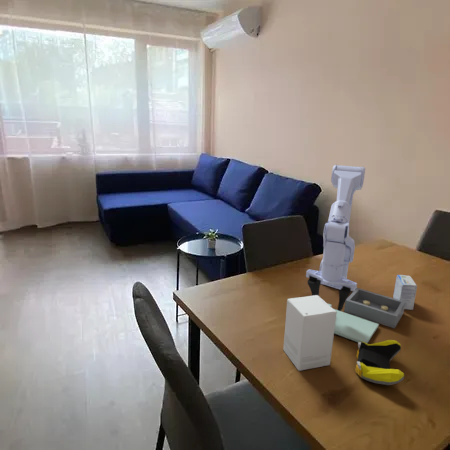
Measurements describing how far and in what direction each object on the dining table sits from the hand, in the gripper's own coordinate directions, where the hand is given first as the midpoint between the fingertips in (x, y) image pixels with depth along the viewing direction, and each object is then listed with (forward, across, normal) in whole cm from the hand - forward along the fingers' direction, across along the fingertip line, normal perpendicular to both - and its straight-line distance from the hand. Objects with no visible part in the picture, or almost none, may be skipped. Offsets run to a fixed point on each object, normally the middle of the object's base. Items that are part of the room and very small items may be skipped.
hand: (327, 305), depth 109 cm
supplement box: (+5, +3, -20) cm, 21 cm away
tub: (+5, +10, +14) cm, 18 cm away
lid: (+5, +6, 0) cm, 8 cm away
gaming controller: (+5, +19, -14) cm, 24 cm away
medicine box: (+5, +16, +26) cm, 31 cm away
